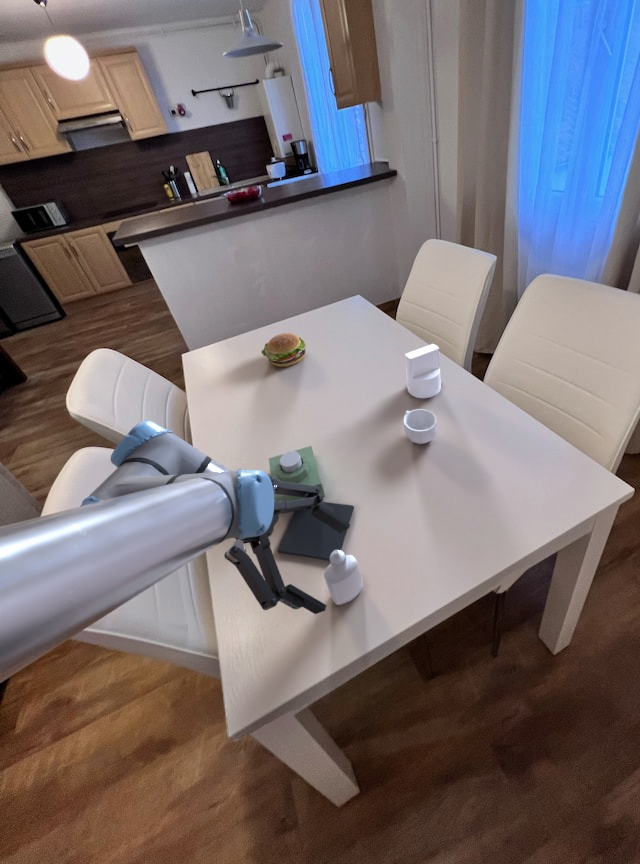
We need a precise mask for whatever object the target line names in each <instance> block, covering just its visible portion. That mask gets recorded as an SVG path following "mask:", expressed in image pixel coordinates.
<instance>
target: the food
mask: <svg viewBox="0 0 640 864" xmlns="http://www.w3.org/2000/svg"><path fill="white" fill-rule="evenodd" d="M306 346H307V345H306V343H305V341H304V340H303V339H302V338H301V337H299V336H298V335H297V334H294V333H290V332H287V333H286V332H285V333H280V334H277V335H275V336H273V337H272V338H271V339H269V341H268V342H266V343H265V344H264V347H263V349H261V354H262V355H263V356H265V357H266V359H268V362H270V364H272V365H273V366H275V367H278V368H279V367H281V368H282V367H290V366H293V365H295V364H297V363H299V362H300V361H302V360H303V359H304V357H305V354H306Z"/></svg>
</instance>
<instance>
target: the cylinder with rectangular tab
mask: <svg viewBox="0 0 640 864" xmlns="http://www.w3.org/2000/svg"><path fill="white" fill-rule="evenodd" d="M404 358H405V359H404V360H405V370H406V371H405V372H406V373H405V374H406V385H407V386H406V387H407V391H408V394H409V395H411V396H412V397H414V398H418V399H428V398H433V397H434V396H436V395H438V394H439V393H440V391H441V389H442V388H441V387H442V386H441V368H440V367H441V365H440V362H441V361H440V347H439V346H438V345H436V344H435V343H430V344H428V345H426V346H423V347H420V348H417V349H414V350H412V351H409V352H406V353H404Z"/></svg>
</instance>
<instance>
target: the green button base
mask: <svg viewBox="0 0 640 864" xmlns="http://www.w3.org/2000/svg"><path fill="white" fill-rule="evenodd" d="M293 451H294V452H297V453H299V455H300V457H301V461H302V466H301V468H300V469H299V470H297V471H296V472H293V473H286V472H284V471H283V470H282V467H281V464H280V458H281V457H282V455H284V454H285V453H282V454H278V455H276V456H273V457H269V458H268V464H269V471H270V476H272V477H274V478H276V479H278V480H280V481H283V482H290V483H297V484H304V485H311V486H318V487H319V488H320V490H321V491H320V493H319V495H320V496H322V498H323V497H325V496H326V494H325V490H324V486H323V484H322V478H321V475H320V472H319V468H318V465H317V461H316V457H315V453H314V450H313V447H312V445H308V446H305V447H302V448H299V449H296V450H293ZM298 499H305V498H304V497H296V496H288V495H280V494H274V502H279V501H292V500H298Z"/></svg>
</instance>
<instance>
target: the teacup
mask: <svg viewBox="0 0 640 864" xmlns="http://www.w3.org/2000/svg"><path fill="white" fill-rule="evenodd" d="M402 423H403V430H404V434H405V436H406V437H407V439H408V440H409V441H411V442H412V443H415V444H417V445H422V444H424V445H425V444H427V443H429V442H431V441H432V440H433V439H434V438H435V436H436V433H437V428H438V419H437V416H436V415H435V414H434V413H433V412H432V411H430V410H428V409H423V408H417V409H413V410H406V411H405V415H404V417H403V422H402Z"/></svg>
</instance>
